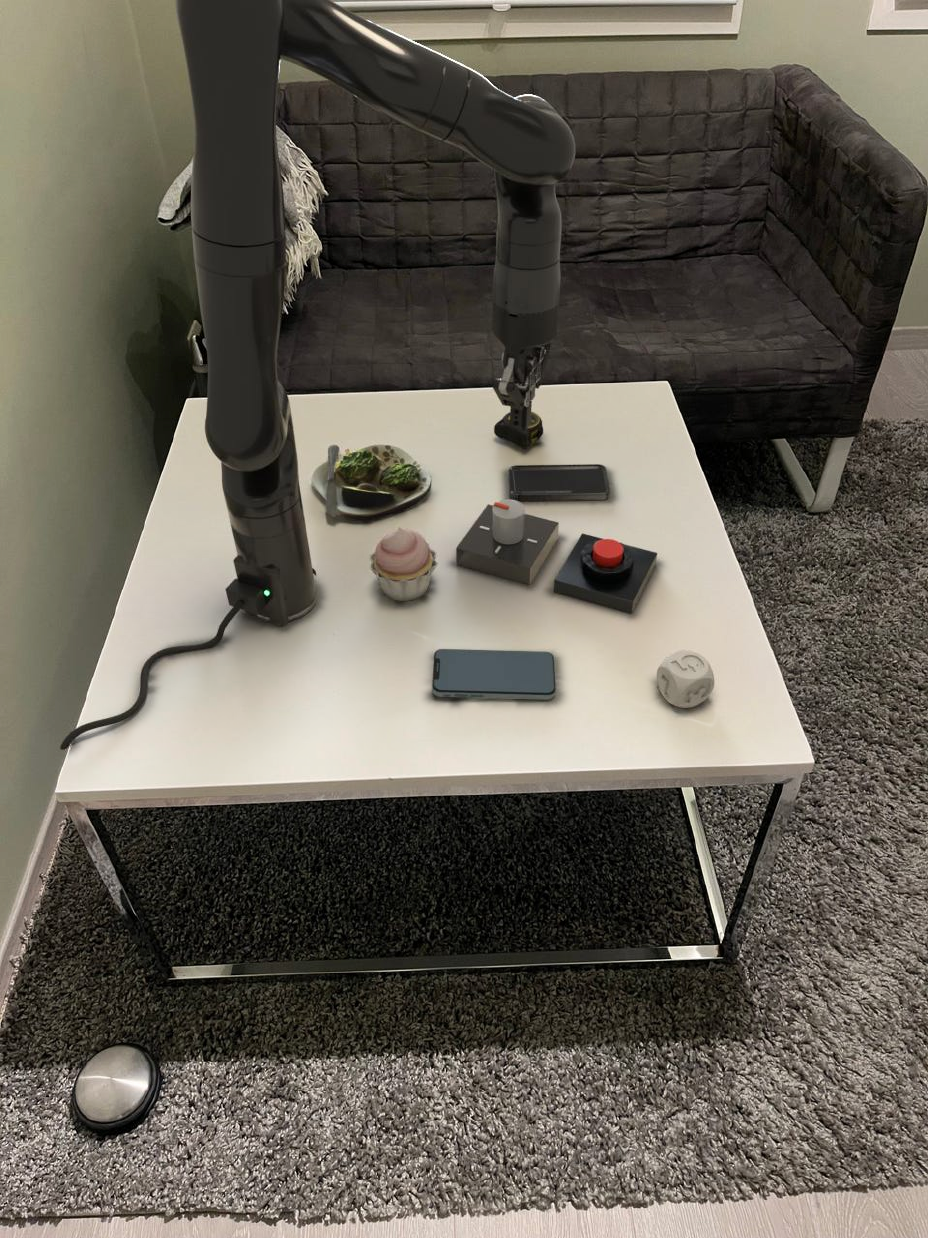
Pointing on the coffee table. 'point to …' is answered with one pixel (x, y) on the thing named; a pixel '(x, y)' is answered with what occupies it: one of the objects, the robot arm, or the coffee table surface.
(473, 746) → the coffee table surface
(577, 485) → the phone
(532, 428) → the tape measure
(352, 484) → the salad plate
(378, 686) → the coffee table surface
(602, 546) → the button
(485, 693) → the smartphone
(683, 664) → the die
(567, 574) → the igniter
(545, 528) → the hob panel
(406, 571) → the cupcake
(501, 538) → the hob knob
